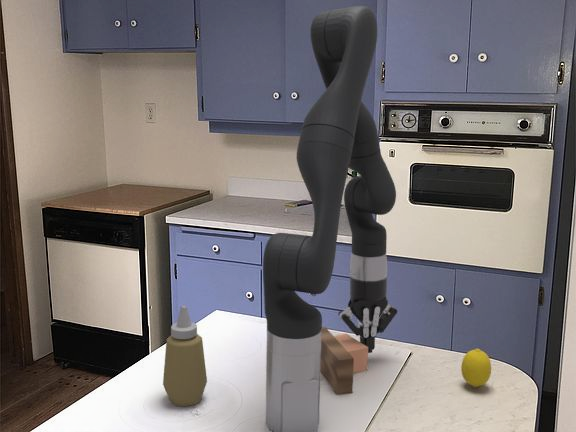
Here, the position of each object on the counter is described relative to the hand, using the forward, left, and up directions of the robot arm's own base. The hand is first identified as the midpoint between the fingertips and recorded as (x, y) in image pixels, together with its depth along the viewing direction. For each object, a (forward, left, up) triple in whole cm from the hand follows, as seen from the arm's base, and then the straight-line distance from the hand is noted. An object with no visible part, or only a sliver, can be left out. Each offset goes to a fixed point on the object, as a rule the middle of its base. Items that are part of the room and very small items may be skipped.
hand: (367, 351), depth 129 cm
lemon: (-16, -16, -2) cm, 23 cm away
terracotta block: (-1, +5, -2) cm, 5 cm away
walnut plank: (-4, +10, -2) cm, 11 cm away
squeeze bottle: (-7, +39, -2) cm, 40 cm away
